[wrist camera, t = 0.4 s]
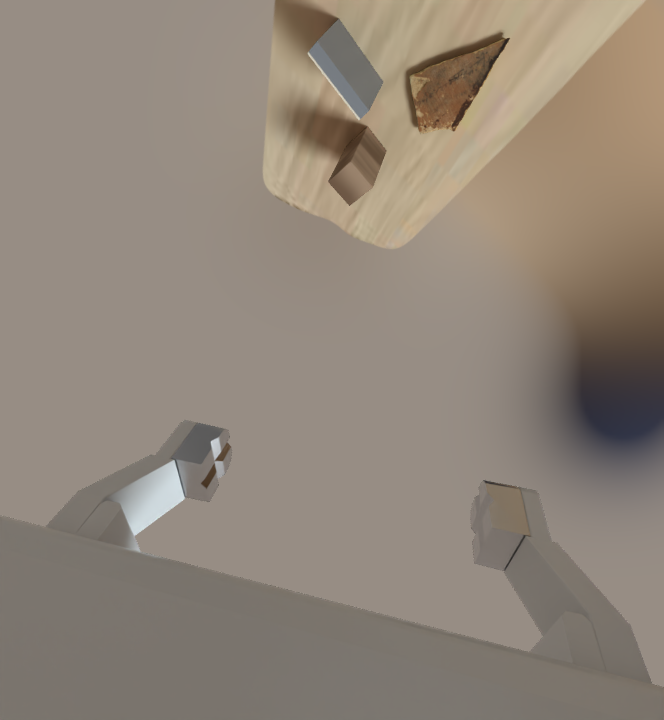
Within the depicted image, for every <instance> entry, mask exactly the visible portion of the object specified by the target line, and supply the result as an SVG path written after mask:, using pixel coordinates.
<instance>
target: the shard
mask: <svg viewBox="0 0 664 720" xmlns="http://www.w3.org/2000/svg"><path fill="white" fill-rule="evenodd" d="M509 39H510V38H507V39H505V38H504V39H501V40H500V41H497V42H495V43H493V44H490V45H488V46H486V47H484V48H481V49H479V50H477V51H475V52H472V53H469V54H463V55H460V56H457V57H455V58H453V59H449V60H445V61H443V62H441V63H439V64H435V65H432V66H429V67H427V68H425V69H424V70H423V71H420V72H417V73H415V74H412V75H410V77H409V78H410V84H411V89H412V97H413V102H414V106H415V109H416V115H417V120H418V130H419V132H420V134H424V133H428V132H431V131H435V130H445V129H446V130H447V129H450V130H452V131H455V130H456V129H457V126H458V125H459V123H460V121H461V120H462V118H463V117H464V115H465V113H466V111H467V110H468V108H469V107H470V105H471V103H472V101H473V100H474V98H475V97H476V95H477V94H478V92H479V91H480V89H481V87H482V86H483V84H484V82H485V80H486V79H487V77H488V75H489V73H490V71H491V69H492V67H493V65H494V63H495V62H496V60H497V58H498V57H499V55H500V53H501V52H502V51H503V50H504V48H505V46H506V45H507V43H508V41H509Z"/></svg>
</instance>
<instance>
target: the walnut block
mask: <svg viewBox="0 0 664 720" xmlns="http://www.w3.org/2000/svg"><path fill="white" fill-rule="evenodd" d="M385 153H386V150H385V148H384V147H383V146H382V144H381V143H380V142H379V140H378V139H377V138H376V137H375V135H374V134H373V133H372V131H371V130H370V129H369V127H366V128H365V129H364V130H363V131H362V132H361V133H360V134H359V135H358V136H357V137H356V138H355V139H354V140H353V141H352V142H350V143H349V144H348V145H347V146H346V148H345V150H344V152H343V154H342V156H341V158H340V160H339V162H338V164H337V166H336V167H335V169H334V171H333V173H332V175H331V177H330V179H329V181H328V182H329V183H330V184H331V186H332V187H333V188H334V189H335V190H336V191H337V192H338V193H339V195H340V196H341V197H342V198H343V199H344V200H345V201H346V202H347V204H348V205H349V206H350V205H351V204H352V203H354V202H355V201H356V200H358V199H359V198H360V197H361V196H363V195H364V194H365V193H366V192H368V191H369V190H370V189H372V188H373V186H374V183H375V180H376V178H377V175H378V172H379V170H380V167H381V164H382V161H383V159H384V156H385Z"/></svg>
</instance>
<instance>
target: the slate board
mask: <svg viewBox="0 0 664 720" xmlns="http://www.w3.org/2000/svg"><path fill="white" fill-rule="evenodd" d="M307 54H308V55H309V57H310V58H311V59H312V60H313V62H314V63H315V64H316V66H317V67H318V68H319V69H320V71H321V72H322V73H323V75H324V76H325V77H326V78H327V80H328V81H329V82H330V84H331V85H332V86H333V87H334V89H335V90H336V91H337V93H338V94H339V95H340V97H341V98H342V99H343V100H344V102H345V103H346V104H347V106H348V107H349V108H350V109H351V111H352V112H353V113H354V115H355V116H356V117H357V118H358V120H360V119H361V118H362V117H363V116H364V115H365V114H366V113H367V112H368V111H369V110H370V108H371V106H372V104H373V102H374V100H375V98H376V96H377V94H378V92H379V90H380V88H381V86H382V84H383V81H382V79H381V78H380V76H379V75H378V74H377V72H376V71H375V69H374V68H373V66H372V65H371V64H370V62H369V61H368V59H367V58H366V56H365V55H364V54H363V52H362V51H361V49H360V48H359V47H358V45H357V44H356V42H355V41H354V39H353V38H352V37H351V35H350V34H349V32H348V31H347V30H346V28H345V27H344V25H343V24H342V22H341V21H340V20H339V19H338V20H337V21H336V22H335V23H334V24H333V25H332V26H331V27H330V28H329V29H328V30H327V31H326V32H325V33H324V34H323V35H322V37H321V38H320V39H319V40H318V41H317V42H316V43H315V44H314V46H313V47H312V48H311V50H310V51H309V52H308V53H307Z"/></svg>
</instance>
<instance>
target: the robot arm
mask: <svg viewBox="0 0 664 720" xmlns="http://www.w3.org/2000/svg"><path fill="white" fill-rule="evenodd" d="M229 438H230V436H229V431H228V430H227V429H223V428H219V427H215V426H210V425H206V424H201V423H196V422H192V421H187V420H184V421H183V422H181V423H180V424H179V425H178V427H177V428H176V429H175V430H174V432H173V433H172V434H171V436H170V437H169V438H168V439H167V441H166V442H165V443H164V444H163V446H162V447H161V448H160V450H159V451H158V452H157V454H156V455H149V456H147V457H145V458H143V459H141V460H139V461H137V462H135V463H133V464H131V465H129V466H127V467H125V468H124V469H122V470H119V471H117V472H115V473H114V474H112V475H110V476H108V477H105V478H104V479H102V480H99V481H97V482H96V483H94V484H92V485H90V486H88V487H86V488H84V489H82V490H80V491H78V492H77V493H76V494H75V495H74V496H73V497H72V498H71V499H70V501H68V503H67V504H66V505H65V506H64V507H63V508H62V509H61V510H60V511H59V512H58V514H57V515H56V516H55V517H54V518H53V519H52V520H51V521H50V522H49V524H48V525H47V526H46V527H44V526H40V525H36V524H32V523H28V522H25V521H21V520H17V519H13V518H9V517H5V516H2V515H0V720H664V687H662V686H658V685H654V684H652V682H651V679H650V677H649V674H648V671H647V668H646V666H645V663H644V660H643V658H642V655H641V652H640V650H639V647H638V644H637V641H636V639H635V636H634V634H633V631H632V628H631V625H630V624H629V623H628V622H627V621H626V620H625V618H624V617H623V616H622V615H621V614H620V613H619V612H618V610H617V609H616V608H615V607H614V606H613V605H612V604H611V603H610V602H609V600H608V599H607V598H606V597H605V596H604V595H603V594H602V593H601V591H600V590H599V589H598V588H597V587H596V586H595V585H594V583H593V582H592V581H591V580H590V579H589V578H588V577H587V576H586V574H584V572H583V571H582V570H581V569H580V568H579V567H578V565H577V564H576V563H575V562H574V561H573V560H572V559H571V558H570V557H569V555H568V554H567V553H566V552H565V551H564V550H563V549H562V547H561V546H560V545H559V544H558V543H555V542H552V540H551V536H550V533H549V529H548V525H547V522H546V518H545V514H544V510H543V507H542V503H541V499H540V496H539V493H538V492H537V491H536V490H532V489H527V488H521V487H517V486H512V485H507V484H501V483H496V482H491V481H486V480H483V481H482V482H481V484H480V486H479V495H478V496H476V497H475V498H474V501H473V503H472V508H471V529H472V530H473V531H474V533H475V534H476V535H475V537H474V539H473V541H472V545H473V555H474V563H475V564H479V565H482V566H486V567H490V568H494V569H498V570H502V571H505V572H504V573H505V575H506V576H507V578H508V580H509V582H510V583H511V585H512V586H513V588H514V590H515V591H516V593H517V595H518V596H519V598H520V599H521V601H522V603H523V604H524V606H525V608H526V609H527V611H528V612H529V614H530V616H531V617H532V619H533V621H534V622H535V624H536V626H537V627H538V629H539V631H540V632H541V634H542V635H543V637H542V638H541V639H540V641H539V642H538V643H537V644H536V645H535V646H534V647H533V649H532V650H531V651H530V652H527V651H522V650H519V649H515V648H511V647H507V646H503V645H500V644H496V643H492V642H488V641H484V640H480V639H476V638H473V637H469V636H465V635H461V634H457V633H453V632H449V631H446V630H442V629H438V628H434V627H430V626H426V625H422V624H418V623H415V622H410V621H407V620H403V619H399V618H395V617H391V616H388V615H384V614H380V613H376V612H372V611H368V610H365V609H361V608H357V607H353V606H349V605H345V604H341V603H337V602H334V601H330V600H326V599H322V598H318V597H314V596H310V595H307V594H303V593H299V592H295V591H291V590H287V589H283V588H279V587H276V586H272V585H268V584H264V583H260V582H256V581H252V580H248V579H244V578H241V577H237V576H233V575H229V574H225V573H221V572H218V571H214V570H209V569H206V568H202V567H198V566H194V565H191V564H187V563H183V562H179V561H175V560H171V559H167V558H163V557H159V556H156V555H152V554H148V553H144V552H140V548H139V546H138V543H137V541H136V539H135V537H134V536H135V535H136V534H138V533H139V532H140V531H142V530H143V529H144V528H146V527H147V526H148V525H150V524H151V523H153V522H154V521H155V520H157V519H158V518H159V517H161V516H162V515H163V514H165V513H166V512H167V511H169V510H170V509H172V508H173V507H174V506H176V505H177V504H178V503H180V502H181V501H182V500H184V499H185V497H187V498H192V499H196V500H201V501H207V502H210V500H211V498H212V497H213V494H214V493H215V491H216V489H217V488H218V486H219V484H218V478H220V477H221V476H223V475H224V474H225V473H226V471H227V469H228V467H229V464H230V461H231V456H232V449H231V446H230V445H229V444H228V443H227V441H228V439H229Z"/></svg>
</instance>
